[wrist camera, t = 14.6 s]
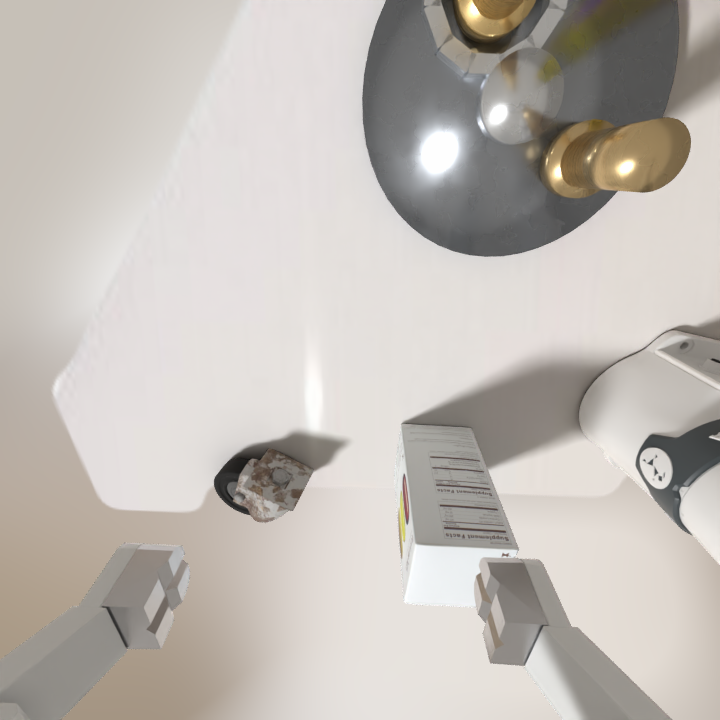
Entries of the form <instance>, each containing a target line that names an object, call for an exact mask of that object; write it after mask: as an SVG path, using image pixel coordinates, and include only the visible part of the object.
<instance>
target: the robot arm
mask: <svg viewBox="0 0 720 720" xmlns="http://www.w3.org/2000/svg"><path fill="white" fill-rule="evenodd" d="M682 343H683V344H682ZM681 344H682V345H681ZM680 345H681V346H680ZM579 422H580V426H581V429H582V431H583V433H584V434H585V436H586V437H587V438H588V439H589V440H590V441H591V442H593V443H594V444H595V445H597V446H598V447H599V448H600V449H602V451H603V454H604V456H605V458H606V460H607V461H608V462H609V463H610V464H611V465H612V466H613V467H615V468H621V469H622V470H623V471H624V472H625V473H626V474H627V475H628V476H629V477H631V478H632V479H633V480H634V481H635V482H636V483H637V484H638V485H639V486H640V487H641V488H642V489H643V490H644V491H645V492H646V493H648V494H649V495H650V496H651V497H652V498H653V499H654V500H655V501H656V502H657V503H658V504H659V505H660V507H661V508H662V509H663V510H664V511H665V512H664V513H665V514H666V515H667V516H668V517H669V518H670V519H671V520H672V521H674V522H675V523H676V524H677V525H678V526H679V527H680V528H681V529H682V530H684V531H685V532H687V533H688V534H690V535H693V536H694V537H695V538H696V539H697V540H698V541H699V543H700V544H701V545H702V546H703V547H704V548H705V549H706V550H707V552H709V554H710V555H711V556H712V557H713V558H714V559H715V560H716V562H717V563H718V564H719V565H720V341H719V340H715V339H711V338H706V337H702V336H698V335H694V334H689V333H685V332H681V331H676V330H672V331H668V332H666V333H664V334H663V335H661V336H660V337H659V338H657V339H656V340H655V341H654V342H652V343H651V344H650V345H649V346H648V347H647V348H645V349H644V350H642V351H640V352H639V353H637V354H634V355H632V356H630V357H628V358H625V359H623V360H622V361H620V362H618V363H616V364H615V365H613V366H612V367H610V368H609V369H607V370H606V371H605V372H604V373H602V374H601V375H600V376H599V377H598V378H597V379H596V380H595V381H594V382H593V384H592V385H591V386H590V388H589V389H588V390H587V392H586V394H585V396H584V398H583V400H582V403H581V406H580V410H579ZM184 555H185V552H184V550H183V547H182V546H178V545H159V544H158V545H157V544H144V543H124V544H122V545H121V546H120V547H119V548H118V549H117V550H116V551H115V553H114V554H113V556H112V557H111V559H110V560H109V562H108V563H107V565H106V566H105V568H104V570H103V571H102V573H101V574H100V575H99V577H98V578H97V580H96V581H95V583H94V584H93V585H92V587H91V588H90V590H89V591H88V593H87V594H86V596H85V597H84V599H83V600H82V602H81V603H80V605H79V606H72V607H71V608H69V609H68V610H67V611H66V612H64V613H63V614H61V615H60V616H59V617H57V618H56V619H55V620H53V621H52V622H51V623H49V624H48V625H46V626H45V627H44V628H42V629H41V630H40V631H39V632H37V633H36V634H34V635H33V636H32V637H30V638H29V639H28V640H26V641H25V642H23V643H22V644H21V645H19V646H18V647H17V648H15V649H14V650H13V651H11V652H10V653H9V654H7V655H6V656H5V657H3V658H2V659H1V660H0V720H61V719H62V718H63V717H64V716H65V715H66V714H67V713H68V712H69V711H70V710H71V709H72V708H73V707H74V706H75V705H76V704H77V703H78V702H79V701H80V700H81V699H82V698H83V697H84V696H85V695H86V693H87V692H88V691H89V690H90V689H91V688H92V687H93V686H94V685H95V684H96V683H97V682H98V681H99V680H100V679H101V678H102V677H103V676H104V675H105V674H106V673H107V672H108V671H109V670H110V669H111V668H112V667H113V666H114V664H115V663H116V662H117V661H118V660H119V659H120V658H121V657H122V656H123V655H124V654H125V653H126V652H127V649H162V646H163V644H164V642H165V640H166V637H167V635H168V633H169V630H170V628H171V626H172V624H173V621H174V618H173V613H172V610H174V609H175V608H176V607H177V606H178V605H179V604H180V603H181V602H182V601H183V598H184V596H185V593H186V591H187V588H188V583H189V579H190V569H189V566H188V563H186V562H185V561H184V560H182V559H183V557H184ZM479 568H480V573H479V574H478V575H476V578H475V582H474V597H475V604H476V608H477V612H478V615H479V616H480V617H481V618H482V619H483V621H484V622H485V623H486V624H485V627H484V631H483V636H484V641H485V644H486V649H487V652H488V657H489V660H490V663H493V664H507V665H520V666H525V667H524V668H525V670H526V671H527V673H528V674H529V675H530V677H531V678H532V679H533V681H534V682H535V684H536V685H537V686H538V688H539V689H540V690H541V692H542V693H543V694H544V696H545V697H546V699H547V700H548V701H549V703H550V704H551V705H552V707H553V708H554V709H555V711H556V712H557V714H558V715H559V716H560V718H561V719H562V720H672V719H671V718H670V717H669V716H668V715H667V714H666V713H665V712H664V711H663V710H662V709H661V708H660V707H659V706H658V705H657V704H656V703H655V702H654V701H652V699H650V697H648V696H647V695H646V694H645V693H644V692H643V691H642V690H641V689H640V688H639V687H638V686H637V685H636V684H635V683H634V682H633V681H632V680H631V679H630V678H629V677H628V676H627V675H626V674H625V673H624V672H623V671H622V670H621V669H620V668H619V667H618V666H617V665H616V664H615V663H614V662H612V660H611V659H610V658H608V656H607V655H605V654H604V653H603V652H602V651H601V650H600V649H599V648H598V647H597V646H596V645H595V644H594V643H593V642H592V641H591V640H590V639H589V638H588V637H587V636H586V635H585V634H584V633H583V632H582V631H581V630H580V629H579V628H577V627H571V624H570V622H569V620H568V618H567V616H566V613H565V611H564V609H563V607H562V604H561V602H560V600H559V598H558V596H557V593H556V591H555V589H554V587H553V584H552V582H551V580H550V578H549V576H548V573H547V571H546V569H545V567H544V564H543V563H542V562H541V561H540V560H538V559H519V558H491V557H483V558H482V559H481V560H480V563H479Z"/></svg>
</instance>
